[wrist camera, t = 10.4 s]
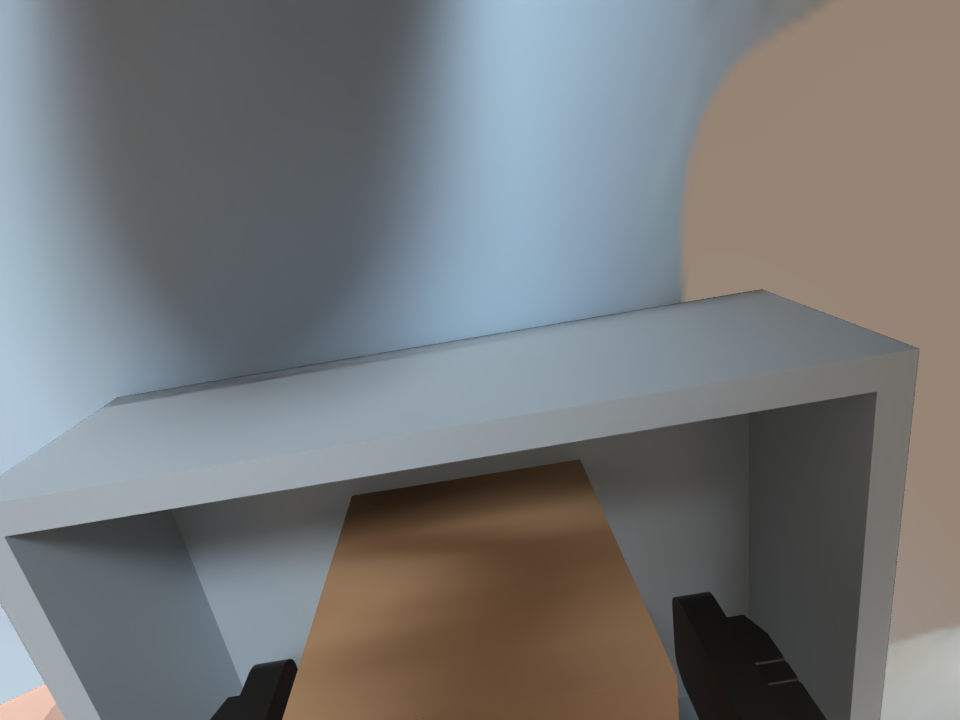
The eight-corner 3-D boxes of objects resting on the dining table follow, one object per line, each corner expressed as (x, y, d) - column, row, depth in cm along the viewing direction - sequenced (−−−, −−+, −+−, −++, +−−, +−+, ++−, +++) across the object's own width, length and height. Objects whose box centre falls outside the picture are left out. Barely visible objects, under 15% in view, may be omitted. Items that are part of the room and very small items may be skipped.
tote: (117, 397, 13) (-52, 510, 8) (761, 289, 13) (919, 348, 8) (265, 760, 17) (201, 962, 12) (759, 680, 16) (865, 856, 12)
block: (397, 669, 15) (364, 974, 9) (351, 495, 13) (275, 741, 7) (599, 637, 15) (689, 924, 9) (580, 459, 13) (677, 677, 7)
